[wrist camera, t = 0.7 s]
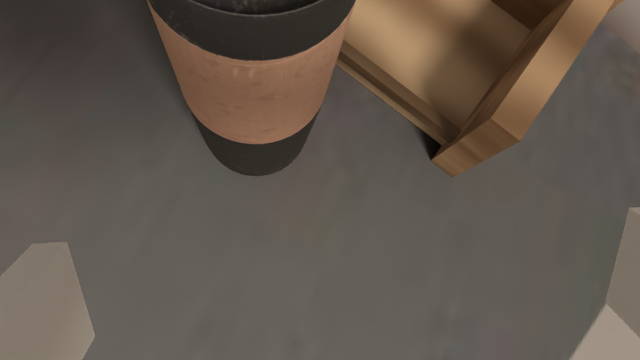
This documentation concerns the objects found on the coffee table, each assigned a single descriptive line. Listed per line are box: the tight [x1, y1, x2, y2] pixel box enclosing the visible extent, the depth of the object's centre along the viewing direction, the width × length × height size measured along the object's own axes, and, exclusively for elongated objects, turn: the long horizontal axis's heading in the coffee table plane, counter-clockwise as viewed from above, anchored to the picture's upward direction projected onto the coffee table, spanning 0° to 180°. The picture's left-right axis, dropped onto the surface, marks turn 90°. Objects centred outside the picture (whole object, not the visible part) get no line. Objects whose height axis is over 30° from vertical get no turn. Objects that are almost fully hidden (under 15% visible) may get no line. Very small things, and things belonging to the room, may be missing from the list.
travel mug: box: [147, 0, 356, 176], centre depth 23 cm, size 8×8×20 cm
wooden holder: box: [336, 0, 623, 177], centre depth 31 cm, size 14×15×9 cm
